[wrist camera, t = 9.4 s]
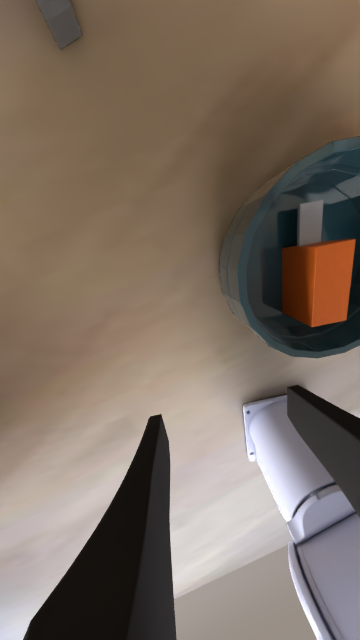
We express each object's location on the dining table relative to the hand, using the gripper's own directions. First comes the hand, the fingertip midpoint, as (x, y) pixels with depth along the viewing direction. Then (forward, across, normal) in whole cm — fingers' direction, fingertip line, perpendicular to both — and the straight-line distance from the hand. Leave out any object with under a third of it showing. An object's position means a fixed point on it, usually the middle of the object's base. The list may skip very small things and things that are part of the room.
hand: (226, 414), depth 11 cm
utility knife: (+9, -10, -6) cm, 15 cm away
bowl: (+9, -10, -6) cm, 15 cm away
